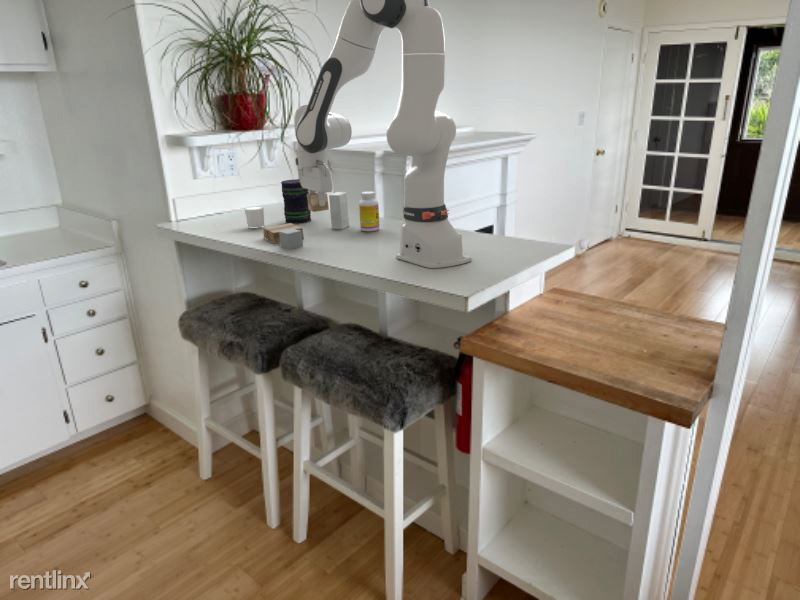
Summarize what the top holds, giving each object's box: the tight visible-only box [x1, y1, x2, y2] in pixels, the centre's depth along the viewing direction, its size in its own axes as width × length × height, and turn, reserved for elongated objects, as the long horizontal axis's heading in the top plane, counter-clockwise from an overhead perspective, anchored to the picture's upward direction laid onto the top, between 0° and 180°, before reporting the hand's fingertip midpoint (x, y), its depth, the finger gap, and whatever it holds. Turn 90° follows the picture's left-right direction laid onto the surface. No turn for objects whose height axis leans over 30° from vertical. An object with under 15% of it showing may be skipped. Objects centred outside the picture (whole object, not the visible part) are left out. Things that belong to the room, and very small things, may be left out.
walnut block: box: [262, 223, 304, 245], centre depth 187 cm, size 10×10×4 cm
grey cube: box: [279, 229, 304, 250], centre depth 176 cm, size 5×5×5 cm
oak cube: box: [307, 192, 330, 213], centre depth 179 cm, size 5×5×5 cm
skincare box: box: [328, 191, 350, 230], centre depth 198 cm, size 6×4×12 cm
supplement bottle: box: [358, 190, 381, 232], centre depth 193 cm, size 7×7×13 cm
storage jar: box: [280, 178, 312, 225], centre depth 211 cm, size 10×10×15 cm
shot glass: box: [243, 206, 265, 228], centre depth 205 cm, size 7×7×7 cm
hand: (318, 204), depth 179 cm, fingers closed on oak cube, 5 cm apart
